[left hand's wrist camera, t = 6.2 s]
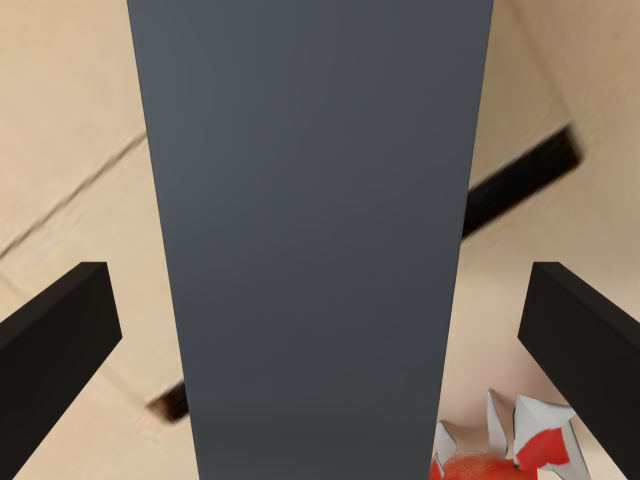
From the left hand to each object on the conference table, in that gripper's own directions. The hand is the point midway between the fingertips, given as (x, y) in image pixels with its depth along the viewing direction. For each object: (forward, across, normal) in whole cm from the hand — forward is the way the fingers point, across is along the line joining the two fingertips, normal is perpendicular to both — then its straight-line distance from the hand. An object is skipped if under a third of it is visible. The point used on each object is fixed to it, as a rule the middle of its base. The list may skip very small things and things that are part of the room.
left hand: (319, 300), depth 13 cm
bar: (+3, 0, -8) cm, 9 cm away
